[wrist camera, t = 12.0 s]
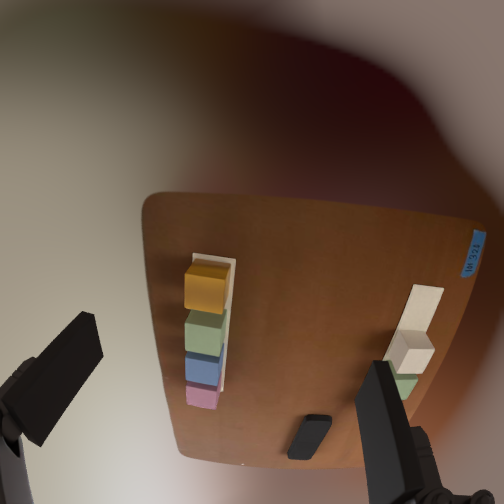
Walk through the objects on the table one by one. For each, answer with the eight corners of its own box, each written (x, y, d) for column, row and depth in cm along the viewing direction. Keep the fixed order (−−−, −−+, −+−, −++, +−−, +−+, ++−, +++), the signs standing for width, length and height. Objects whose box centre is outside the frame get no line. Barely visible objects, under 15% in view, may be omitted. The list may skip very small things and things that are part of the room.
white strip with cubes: (413, 284, 34) (427, 301, 30) (443, 287, 34) (458, 304, 30) (360, 404, 43) (364, 424, 38) (386, 403, 42) (392, 423, 38)
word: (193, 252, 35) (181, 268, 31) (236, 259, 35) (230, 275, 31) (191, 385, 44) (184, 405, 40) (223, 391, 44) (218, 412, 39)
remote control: (305, 411, 45) (286, 454, 50) (306, 419, 43) (286, 461, 48) (333, 413, 44) (309, 456, 49) (334, 420, 43) (309, 462, 48)
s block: (195, 257, 35) (184, 273, 31) (231, 263, 35) (225, 279, 31) (194, 289, 37) (184, 308, 33) (228, 295, 37) (222, 314, 33)
